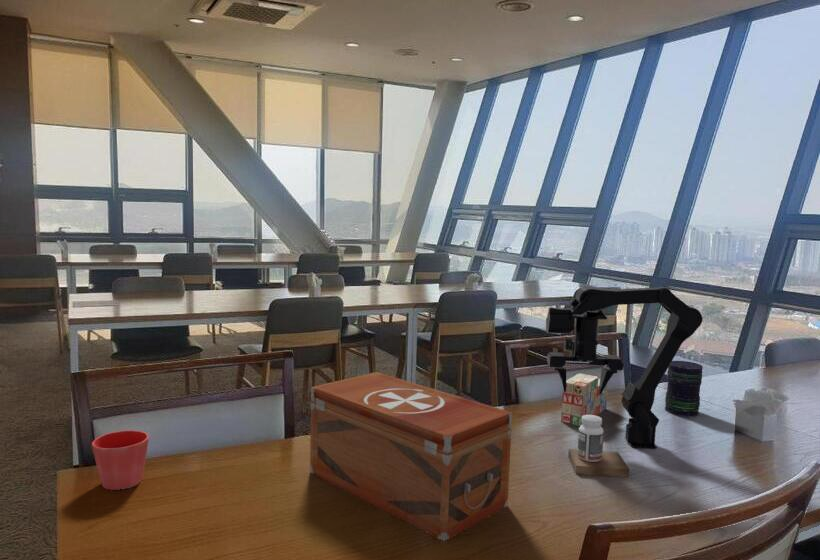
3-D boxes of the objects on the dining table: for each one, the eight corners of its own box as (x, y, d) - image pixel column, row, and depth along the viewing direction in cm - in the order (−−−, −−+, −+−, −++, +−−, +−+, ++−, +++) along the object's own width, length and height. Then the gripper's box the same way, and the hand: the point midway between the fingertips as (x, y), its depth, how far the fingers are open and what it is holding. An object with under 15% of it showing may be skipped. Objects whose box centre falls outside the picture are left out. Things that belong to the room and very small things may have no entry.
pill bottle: (603, 456, 149) (606, 416, 148) (600, 464, 144) (602, 423, 143) (579, 451, 152) (581, 412, 151) (575, 459, 147) (577, 419, 145)
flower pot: (94, 475, 135) (93, 433, 133) (149, 468, 139) (148, 427, 138) (91, 497, 125) (89, 451, 124) (149, 489, 129) (149, 444, 128)
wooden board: (617, 459, 152) (618, 452, 152) (628, 477, 143) (629, 468, 142) (568, 456, 153) (568, 449, 153) (575, 473, 143) (576, 465, 143)
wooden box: (374, 449, 155) (376, 371, 153) (509, 506, 127) (514, 412, 125) (308, 472, 140) (309, 386, 138) (445, 543, 112) (449, 437, 110)
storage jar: (668, 404, 199) (672, 359, 197) (701, 411, 193) (706, 364, 191) (660, 412, 191) (664, 364, 189) (695, 419, 185) (699, 370, 183)
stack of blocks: (586, 405, 196) (589, 367, 194) (606, 409, 192) (609, 370, 191) (560, 422, 179) (563, 381, 177) (581, 427, 175) (584, 385, 174)
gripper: (614, 330, 169) (610, 386, 171) (545, 327, 170) (542, 382, 172) (625, 339, 158) (621, 398, 160) (551, 335, 159) (548, 394, 161)
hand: (582, 392), depth 163 cm, fingers open, 9 cm apart
